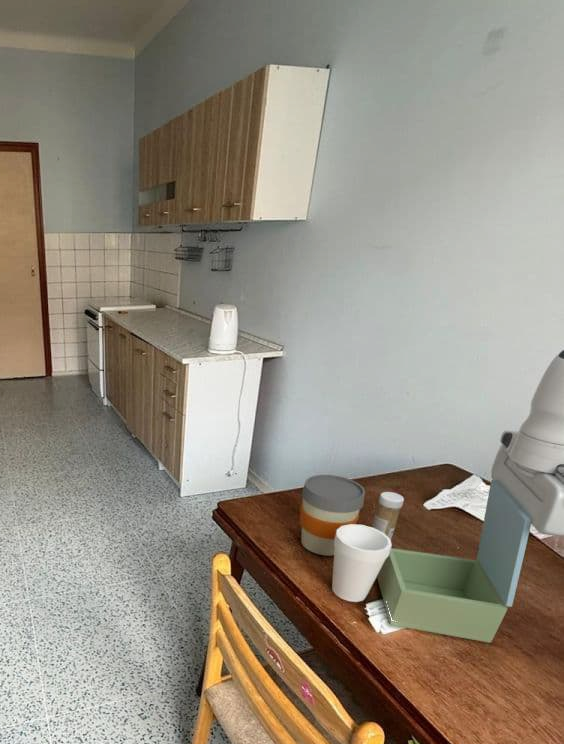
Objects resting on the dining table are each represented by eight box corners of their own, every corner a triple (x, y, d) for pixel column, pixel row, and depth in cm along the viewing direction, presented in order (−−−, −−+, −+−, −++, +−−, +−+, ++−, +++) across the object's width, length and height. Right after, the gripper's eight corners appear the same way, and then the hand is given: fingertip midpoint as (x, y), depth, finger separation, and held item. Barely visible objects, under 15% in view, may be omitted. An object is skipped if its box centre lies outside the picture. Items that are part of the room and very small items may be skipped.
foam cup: (324, 572, 100) (336, 520, 94) (372, 582, 97) (388, 529, 91) (323, 600, 92) (336, 546, 86) (376, 612, 89) (393, 557, 83)
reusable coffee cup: (315, 523, 117) (326, 469, 110) (362, 547, 107) (378, 490, 100) (281, 540, 111) (291, 484, 104) (328, 567, 102) (343, 507, 94)
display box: (390, 624, 86) (401, 591, 83) (377, 578, 98) (386, 547, 94) (490, 643, 82) (507, 608, 78) (464, 592, 94) (478, 560, 90)
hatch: (525, 520, 71) (532, 520, 71) (491, 479, 83) (497, 479, 83) (505, 606, 78) (512, 606, 78) (476, 558, 90) (482, 558, 90)
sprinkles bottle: (392, 552, 106) (409, 500, 99) (372, 553, 106) (387, 501, 99) (381, 541, 110) (396, 490, 103) (362, 542, 110) (376, 491, 103)
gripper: (614, 486, 63) (568, 569, 69) (542, 431, 80) (510, 502, 86) (557, 480, 64) (517, 561, 71) (498, 428, 82) (471, 497, 88)
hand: (513, 528), depth 79 cm, fingers closed, pressing on hatch
